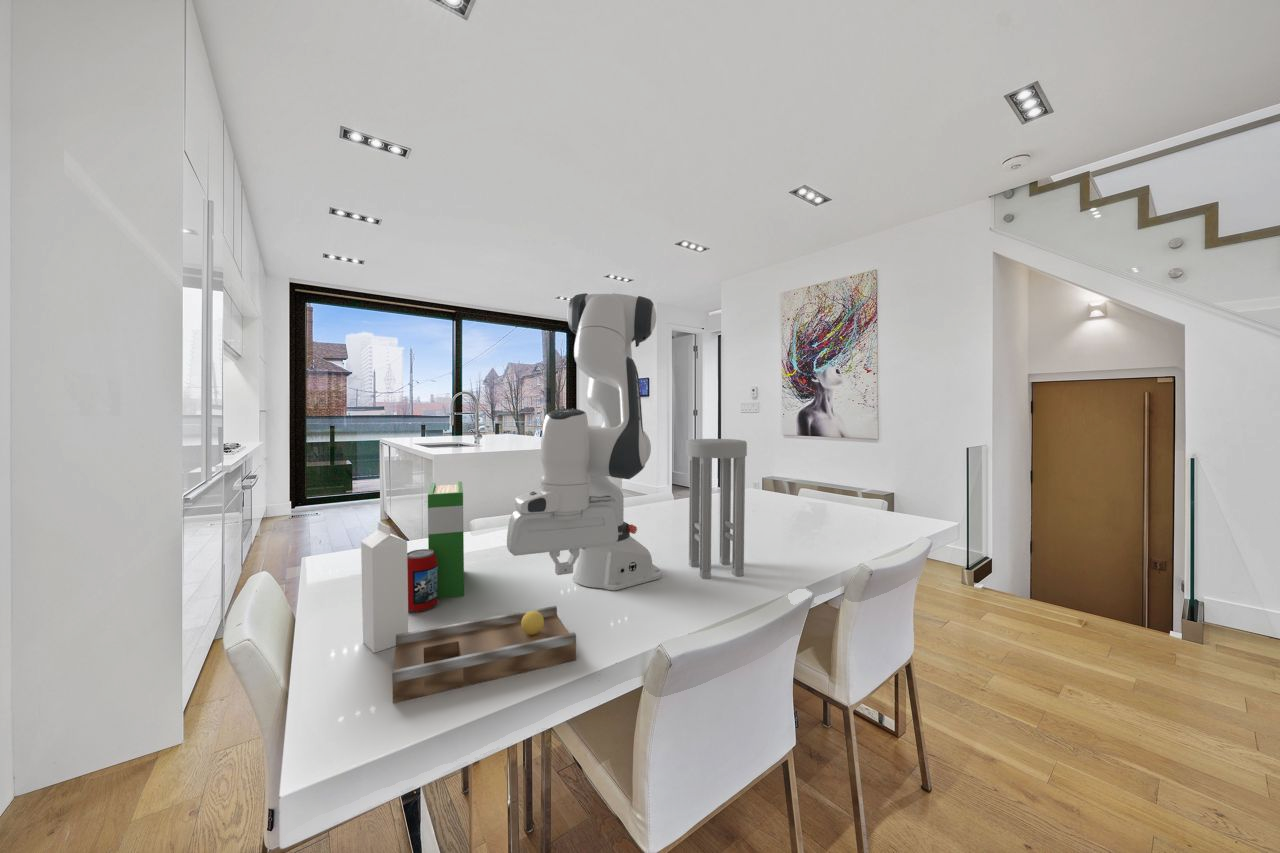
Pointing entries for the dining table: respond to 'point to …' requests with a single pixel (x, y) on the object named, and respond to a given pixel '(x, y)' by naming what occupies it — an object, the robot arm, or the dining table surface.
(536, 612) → the ball
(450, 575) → the hardback book
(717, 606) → the dining table surface
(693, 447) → the stool
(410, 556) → the beverage can
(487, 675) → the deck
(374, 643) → the milk
